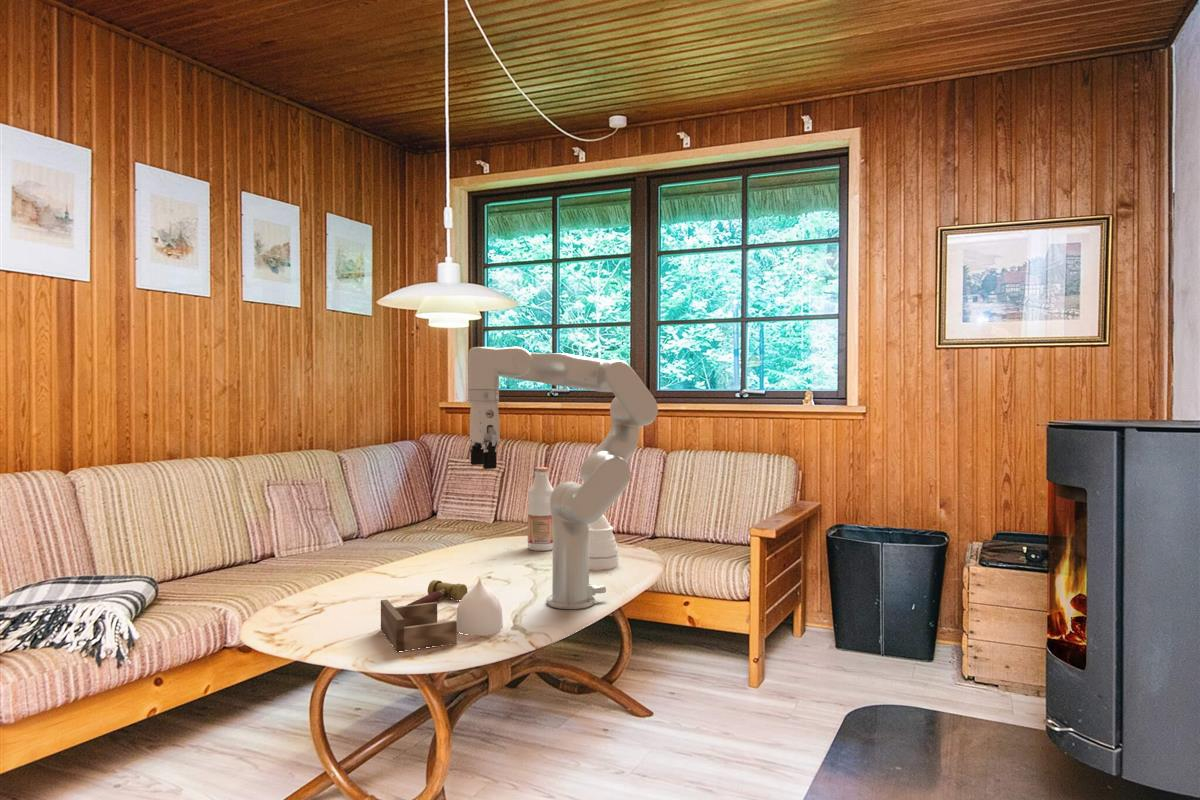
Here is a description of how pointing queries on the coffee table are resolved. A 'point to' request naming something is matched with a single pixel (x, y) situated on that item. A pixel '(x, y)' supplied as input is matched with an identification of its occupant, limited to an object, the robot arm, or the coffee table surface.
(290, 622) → the coffee table surface
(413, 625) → the box
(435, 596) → the gavel
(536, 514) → the fruit juice
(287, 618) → the coffee table surface
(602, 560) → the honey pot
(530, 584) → the coffee table surface
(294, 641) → the coffee table surface
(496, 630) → the teardrop
